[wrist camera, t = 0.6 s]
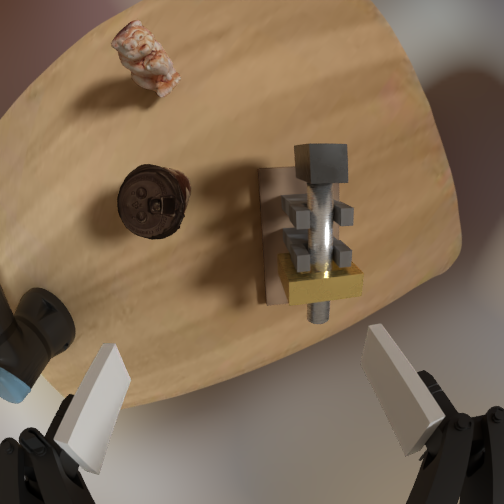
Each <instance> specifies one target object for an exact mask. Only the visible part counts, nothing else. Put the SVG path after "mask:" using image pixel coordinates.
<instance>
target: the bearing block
mask: <svg viewBox="0 0 504 504" xmlns="http://www.w3.org/2000/svg"><path fill="white" fill-rule="evenodd" d="M258 179H259V194H260V209H261V224H262V240H263V256H264V272H265V289H266V303H267V306H268V305H278V304H287V303H288V300H287V298H286V295H285V292H284V289H283V286H282V284H281V281H280V278H279V275H278V265H277V254H279V253H290V254H291V261H292V263H293V265H294V267H295V269H296V271H297V272H306V271H310V254H309V252H308V229H310V210H309V209H308V208H307V182H305V181H303V180H300V179H298V178H296V171H295V167H276V168H259V169H258ZM353 213H354V208H353V207H351V206H349V205H347V204H345V203H343V202H339V183H333V261H334V262H335V263H336V264H337V266H338V267H339V268H342V267H351V260H352V250H351V249H350V248H349V247H347V246H346V245H345V244H344V243H343V242H342V241H341V240H339V225H340V226H353Z"/></svg>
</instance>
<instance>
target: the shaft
mask: <svg viewBox="0 0 504 504" xmlns="http://www.w3.org/2000/svg"><path fill="white" fill-rule="evenodd" d="M294 153H295V171H296V178H298V179H300V180H303V181H305V182H307V208H308V209H309V210H310V229H308V252H309V254H310V271H308V273H316V272H325V271H332V260H333V183H348V156H347V144H303V145H295V146H294ZM329 311H330V301H323V302H316V303H308V304H307V320H308V321H309V322H311V323H314V324H323V323H325V322H327V321H328V320H329Z"/></svg>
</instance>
